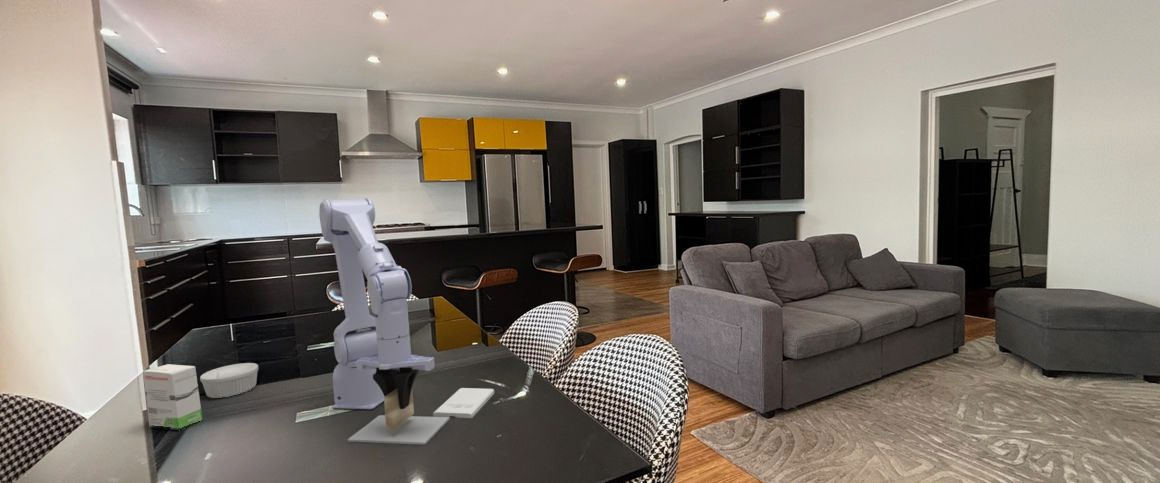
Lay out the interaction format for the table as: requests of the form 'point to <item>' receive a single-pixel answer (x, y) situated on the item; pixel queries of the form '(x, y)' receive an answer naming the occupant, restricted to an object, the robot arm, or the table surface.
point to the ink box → (172, 396)
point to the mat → (400, 431)
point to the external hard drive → (464, 403)
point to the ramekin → (230, 380)
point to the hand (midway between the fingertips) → (399, 406)
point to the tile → (396, 410)
